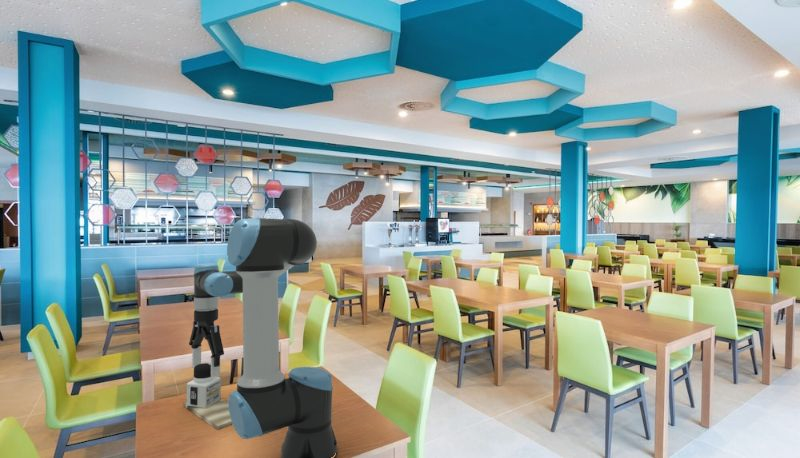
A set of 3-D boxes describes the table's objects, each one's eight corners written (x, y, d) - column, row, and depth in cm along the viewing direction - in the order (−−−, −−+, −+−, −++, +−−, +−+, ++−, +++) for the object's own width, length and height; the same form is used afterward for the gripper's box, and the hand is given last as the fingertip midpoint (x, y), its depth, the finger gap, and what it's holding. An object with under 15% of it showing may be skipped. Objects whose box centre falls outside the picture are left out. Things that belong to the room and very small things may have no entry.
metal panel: (247, 418, 134) (247, 414, 133) (217, 429, 126) (217, 426, 126) (212, 396, 149) (212, 393, 149) (183, 405, 141) (183, 402, 141)
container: (206, 408, 137) (206, 369, 137) (186, 405, 139) (186, 367, 138) (221, 399, 144) (221, 362, 144) (202, 396, 146) (202, 359, 146)
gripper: (235, 312, 136) (234, 376, 136) (200, 303, 152) (200, 360, 152) (212, 315, 130) (212, 383, 130) (179, 305, 146) (178, 365, 146)
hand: (205, 371), depth 141 cm, fingers open, 13 cm apart
